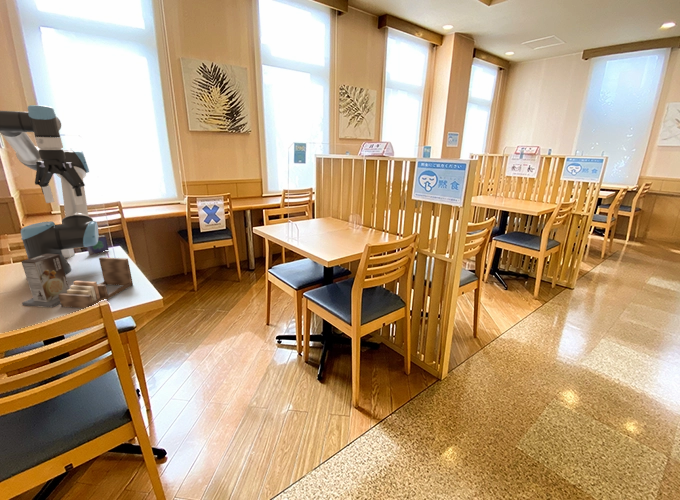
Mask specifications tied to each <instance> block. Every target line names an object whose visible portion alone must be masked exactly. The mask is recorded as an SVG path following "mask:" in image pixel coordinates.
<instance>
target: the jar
mask: <svg viewBox="0 0 680 500" xmlns="http://www.w3.org/2000/svg"><path fill="white" fill-rule="evenodd" d="M61 251H62V255H63V256H64V258H65V259H67V258H68V259H69V258H71V257H73V256H75V248H72V249H64V250H61Z"/></svg>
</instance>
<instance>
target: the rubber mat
mask: <svg viewBox="0 0 680 500" xmlns="http://www.w3.org/2000/svg"><path fill="white" fill-rule="evenodd" d="M21 304H22V306H29V307H43V308H54V307H56V306H57V305H61V303H60V299H59V297H58V298H56V299H54V300H51V301H49V302H40V301H34V299H33V297H32V298H30V299H28V300H26V301H23V302H21Z"/></svg>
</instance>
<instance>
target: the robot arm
mask: <svg viewBox="0 0 680 500" xmlns="http://www.w3.org/2000/svg"><path fill="white" fill-rule="evenodd" d="M61 129H62V122H61V120H60V119H59V117H57V115H56V113H55V109H54V108H53V107H52V106H49V105H39V104H38V105H35V104H33V105H32V104H31V105H28V106H27V111H15V110H0V135H1V136H2V137H3V139H4V140H5V141H6V142H7V143H8V145H9V146H10V147H11V148H12V149H13V151H14V152H15V155H16V159H17V160H18V161H19V162H20V163H21V164H22V165H24V166H25V167H27V168H30V170H33V171H36V173H35V179H34V184H35V185H36V186H39V187H40V188H41V192H42V195H43V197H44V200H45V203H46V204H50V203H54V202H55V199H54V195H53V192H52V189H51V186H50V184H49V183H50V182H51V180H52V178H53V176H54V175H57V177H59V178H60V183H61V191H62V192H61V193H62V199H63V206H64V208H63V209H64V216H65V217H63V218H62V219H61V223H59V224H56V223H55V221H42V222H41V221H40V222H37V223H32V224H29V225H26V226H23V227H22V228H20V235H21V236H20V237H21V240H22V243H23V247H24V249H25V253H26V256H27V259H30V258H34V257H37V256H40V255H43V254H59V255H60V258H61V261H62V265H63V269H64V272H65V275H66V274H68V273H70V272H71V270H72V268H71V267H72V266H71V264H70V263H69V262H68V260H67V258H64V256H63V255H62V251H61V250H64V249H72V248H73V249H81V248H87V247H88V246H94V245H96V244H97V243H98V237H99V236H100V235H99V225H98V222H97V221H96V220H94V219H93V218H92V217H91V216H89V212H88V203H87V197H86V190H85V187H86V184H85V183H84V179H85V178H86V177H87V174H88V173H90V169H89V166H88V164H87V161H86V157H85V155H84V152H83V151H82V150H81V149H77V148H75V149H74V148H70V149H65V148H64V145H63V141H62V137H61V135H60V130H61ZM28 133H33V134H34V138H35V141H36V143H34V141H33V140H32V139H31V137H30V136H29V134H28Z"/></svg>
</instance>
